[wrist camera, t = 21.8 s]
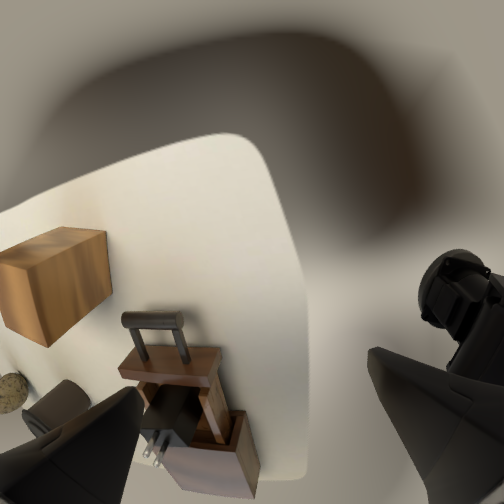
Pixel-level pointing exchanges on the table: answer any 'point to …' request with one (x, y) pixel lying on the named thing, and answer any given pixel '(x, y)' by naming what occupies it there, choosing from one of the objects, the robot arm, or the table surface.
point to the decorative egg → (12, 392)
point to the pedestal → (53, 282)
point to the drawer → (177, 371)
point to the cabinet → (217, 464)
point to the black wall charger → (171, 419)
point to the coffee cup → (56, 408)
